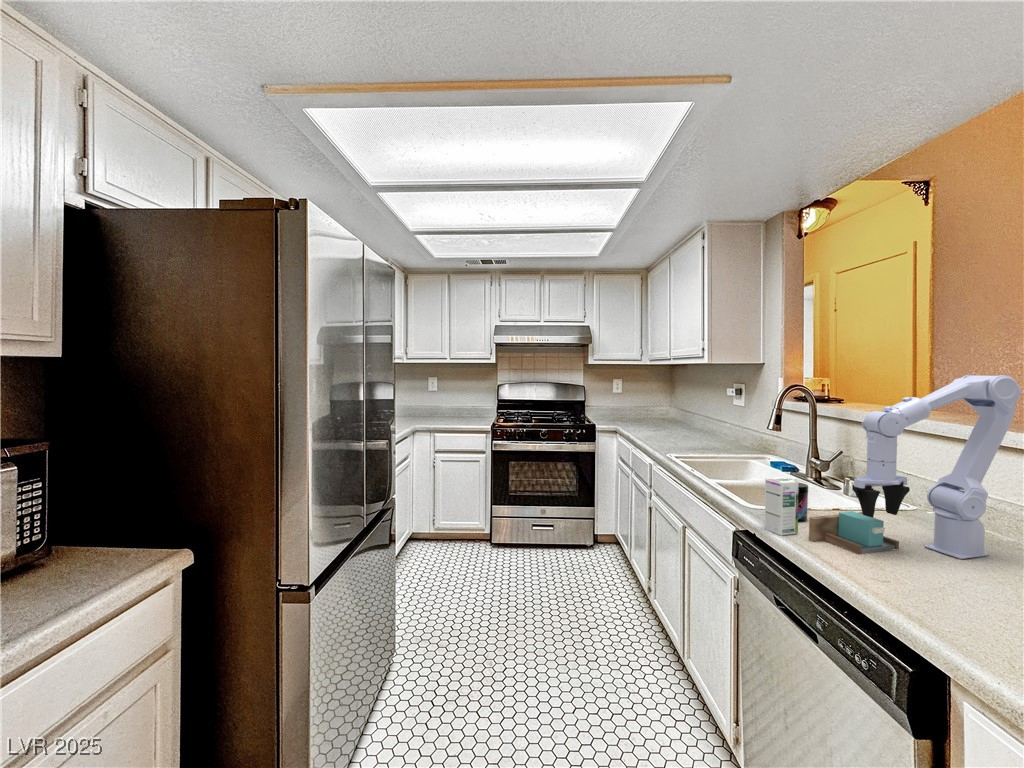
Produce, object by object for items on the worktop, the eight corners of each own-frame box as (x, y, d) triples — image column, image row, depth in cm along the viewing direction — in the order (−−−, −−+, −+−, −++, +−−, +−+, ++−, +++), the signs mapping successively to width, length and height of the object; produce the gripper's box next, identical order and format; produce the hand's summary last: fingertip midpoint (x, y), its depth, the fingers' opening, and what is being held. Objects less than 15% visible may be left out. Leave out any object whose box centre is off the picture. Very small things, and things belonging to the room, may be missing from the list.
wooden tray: (867, 533, 126) (868, 511, 126) (909, 548, 116) (910, 524, 116) (808, 540, 121) (809, 517, 121) (847, 555, 111) (848, 530, 110)
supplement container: (787, 522, 135) (788, 486, 135) (776, 514, 142) (777, 481, 142) (812, 523, 134) (813, 487, 134) (799, 515, 141) (801, 481, 141)
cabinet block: (851, 533, 122) (852, 511, 122) (886, 546, 114) (887, 522, 114) (838, 535, 121) (839, 512, 121) (872, 547, 113) (873, 523, 112)
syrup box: (781, 536, 123) (782, 482, 123) (763, 528, 129) (764, 477, 129) (798, 534, 125) (799, 481, 125) (780, 527, 131) (781, 476, 130)
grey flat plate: (860, 537, 123) (860, 532, 123) (895, 549, 115) (895, 544, 115) (828, 540, 120) (828, 536, 120) (861, 553, 112) (861, 548, 112)
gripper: (875, 465, 108) (873, 522, 109) (921, 462, 112) (919, 517, 112) (846, 459, 115) (845, 513, 116) (891, 456, 119) (889, 509, 119)
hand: (879, 514), depth 115 cm, fingers open, 7 cm apart
